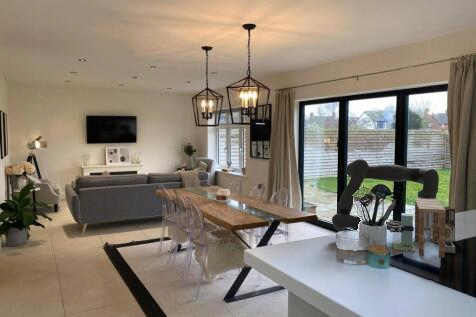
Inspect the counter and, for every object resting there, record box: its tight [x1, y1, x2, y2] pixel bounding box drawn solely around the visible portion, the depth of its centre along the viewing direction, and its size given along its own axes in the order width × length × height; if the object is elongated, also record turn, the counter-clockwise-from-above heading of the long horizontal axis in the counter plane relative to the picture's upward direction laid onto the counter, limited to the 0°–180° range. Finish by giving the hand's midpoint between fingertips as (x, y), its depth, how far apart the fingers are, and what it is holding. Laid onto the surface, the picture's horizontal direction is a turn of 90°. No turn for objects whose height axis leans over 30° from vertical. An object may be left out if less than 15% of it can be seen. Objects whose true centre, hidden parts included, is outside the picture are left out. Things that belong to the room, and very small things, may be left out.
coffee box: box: [430, 205, 456, 242], centre depth 179 cm, size 9×6×16 cm
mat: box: [392, 240, 416, 252], centre depth 171 cm, size 12×9×1 cm
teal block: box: [400, 212, 414, 246], centre depth 170 cm, size 5×5×14 cm
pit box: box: [445, 241, 456, 255], centre depth 164 cm, size 9×4×3 cm, turn 158°
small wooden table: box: [414, 198, 446, 258], centre depth 166 cm, size 23×10×21 cm, turn 158°
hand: (413, 227), depth 169 cm, fingers closed on teal block, 4 cm apart
